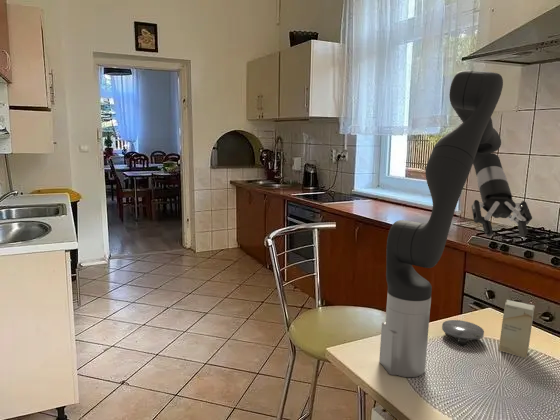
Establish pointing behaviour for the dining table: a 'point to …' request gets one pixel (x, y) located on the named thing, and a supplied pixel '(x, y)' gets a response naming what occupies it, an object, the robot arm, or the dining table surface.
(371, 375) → the dining table surface
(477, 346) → the dining table surface
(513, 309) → the skincare box
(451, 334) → the dark gray bowl
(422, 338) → the robot arm
